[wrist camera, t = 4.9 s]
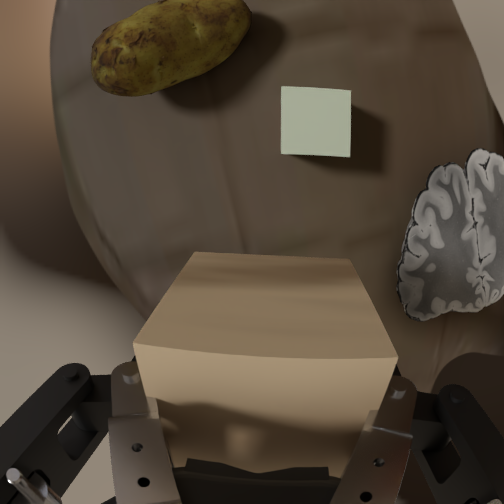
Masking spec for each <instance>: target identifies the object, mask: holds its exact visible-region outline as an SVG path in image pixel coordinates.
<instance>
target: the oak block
mask: <svg viewBox="0 0 504 504" xmlns="http://www.w3.org/2000/svg"><path fill="white" fill-rule="evenodd" d="M133 347H134V351H135V355H136V360H137V364H138V368H139V372H140V376H141V380H142V383H143V387H144V391H145V394H146V396H148V397H153V398H156V401H157V405H158V408H159V413H160V418H161V422H162V426H163V430H164V433H165V437H166V440H168V443H169V446H170V450H171V454H172V457H173V461H174V464H175V467H185V465H186V461H187V458H192V459H198V460H205V461H212V462H220V463H224V464H227V465H230V466H233V467H237V468H240V469H243V470H247V471H250V472H254V473H263V472H270V471H276V470H281V469H287V468H292V467H328V468H329V476H334V477H338V478H340V476H341V474H342V472H343V470H344V468H345V466H346V463H347V461H348V459H349V457H350V455H351V453H352V451H353V450H354V447H355V445H356V443H357V441H358V438H359V436H360V433H361V431H362V428H363V426H364V423H365V420H366V418H367V416H368V413H369V411H370V410H379V407H380V405H381V402H382V400H383V397H384V395H385V392H386V390H387V387H388V385H389V382H390V379H391V377H392V374H393V371H394V368H395V365H396V363H397V360H398V356H397V353H396V351H395V349H394V347H393V345H392V343H391V340H390V338H389V336H388V334H387V332H386V330H385V328H384V326H383V324H382V322H381V320H380V318H379V315H378V313H377V311H376V309H375V307H374V305H373V303H372V301H371V299H370V297H369V296H368V294H367V292H366V290H365V288H364V286H363V284H362V282H361V280H360V278H359V276H358V274H357V272H356V271H355V269H354V267H353V265H352V263H351V261H350V259H336V258H315V257H293V256H272V255H251V254H230V253H209V252H194V254H193V255H192V256H191V258H190V259H189V261H188V262H187V263H186V265H185V266H184V268H183V269H182V271H181V272H180V273H179V275H178V276H177V278H176V279H175V281H174V282H173V283H172V285H171V286H170V288H169V289H168V291H167V292H166V294H165V295H164V297H163V298H162V299H161V301H160V302H159V304H158V305H157V307H156V308H155V310H154V311H153V313H152V314H151V316H150V317H149V319H148V320H147V322H146V323H145V325H144V326H143V328H142V329H141V331H140V332H139V334H138V335H137V337H136V339H135V340H134V341H133Z"/></svg>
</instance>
